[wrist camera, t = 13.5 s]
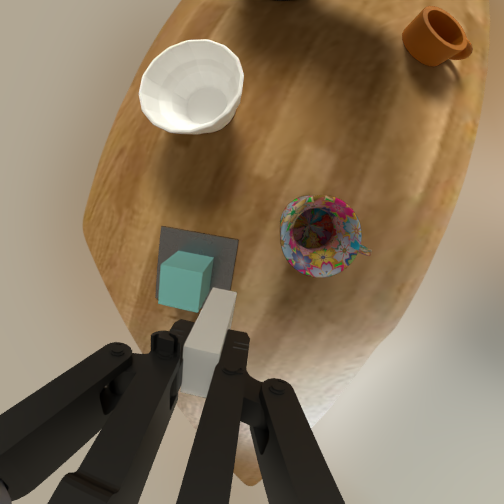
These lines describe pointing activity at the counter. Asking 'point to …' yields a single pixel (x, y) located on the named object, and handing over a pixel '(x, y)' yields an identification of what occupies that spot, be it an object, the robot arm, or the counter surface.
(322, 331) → the counter surface
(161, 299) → the teal block
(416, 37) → the mug
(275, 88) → the counter surface
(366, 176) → the counter surface
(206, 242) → the grey square tile
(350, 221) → the mug
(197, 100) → the cup
